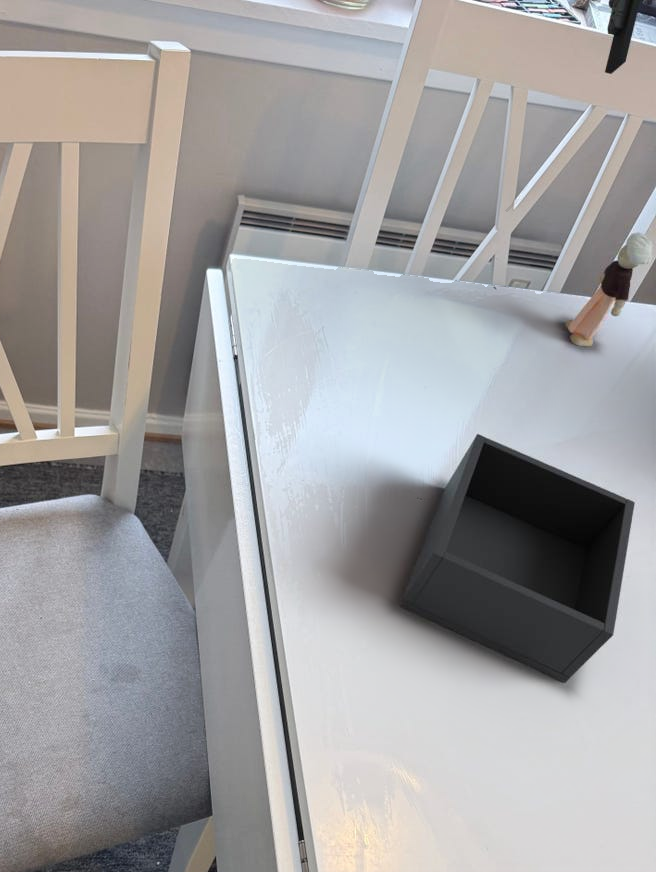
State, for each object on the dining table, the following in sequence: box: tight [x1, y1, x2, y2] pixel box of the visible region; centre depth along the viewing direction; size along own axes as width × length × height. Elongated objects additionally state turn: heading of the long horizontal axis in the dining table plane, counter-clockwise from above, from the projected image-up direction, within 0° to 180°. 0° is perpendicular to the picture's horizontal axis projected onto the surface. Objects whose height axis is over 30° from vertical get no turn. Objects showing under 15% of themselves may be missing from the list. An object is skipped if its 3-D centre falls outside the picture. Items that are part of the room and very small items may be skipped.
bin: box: [399, 433, 636, 683], centre depth 73 cm, size 15×17×7 cm
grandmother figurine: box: [565, 232, 653, 347], centre depth 97 cm, size 8×4×13 cm, turn 6°
